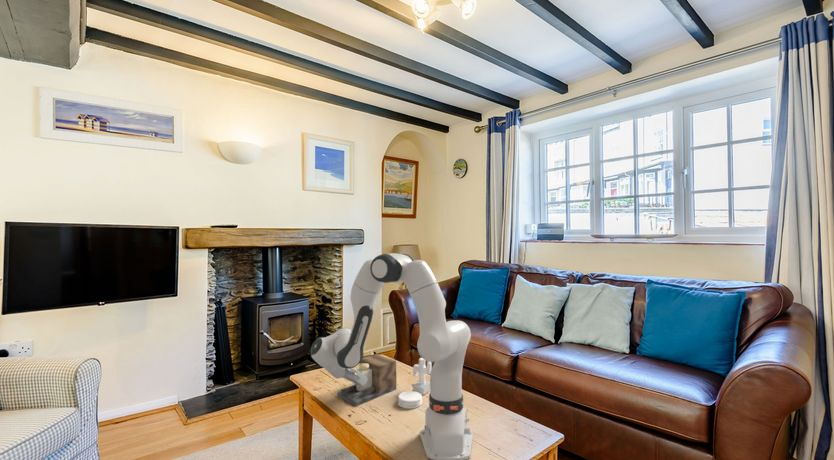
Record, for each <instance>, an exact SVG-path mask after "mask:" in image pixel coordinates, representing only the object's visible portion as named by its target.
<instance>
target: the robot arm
mask: <svg viewBox="0 0 834 460" xmlns="http://www.w3.org/2000/svg"><path fill="white" fill-rule="evenodd" d="M400 282H403V283H404V285H405V286H406V288H407V290H408V292H409V295H410V297H411V301H412V303H413V306H414V308H415V311H416V314H417V318H418V324H419V325H418V326H419V337H418V339H417V343H416V344H417V345H416V346H417V347H416V348H417V351H418V354H419V356H420V358H423V359H424V360H425V362H431V363H433V365H432V366H431V368H432V369H431V373H430V374H429V376H430V377H429V379H430V381H429V382H430V391H429V395H428V405H429V406H428V407H427V408H426V409H425V411H424V413H425V417H424V421H425V422H424V428H423V429H420V431H419V436H420V440H421V444H422V446H423V449H424V453H425V455H426V458H428V459H430V460H468V459H470V458H471V456H472V455H471V454H472V448H473V447H472V446H473V439H474V431H473V430H472V429H471V427H470V426H468V423H469V421H470V419H469V417H468V410H467V409H466V407H464V395H463V392H462V389H463V387H462V385H463V382H462V381H463V379H462V378H463V375H462V374H463V366H464V362H465V356H466V352H467V348H468V345H469V343H470V341H471V338H472V337H471V336H472V333H471V329H470V327H469V326H468V324H467V323H466V322H464V321H462V320H458V319H457V320H448V321H447V319H446V311H445V310H446V307H447V301H446V299H445V296H444V294H443V292H442V290H441V287H440V285H439V283H438V280H437V279H436V276H435V274H434V272H433V271H432V269H431V268H430V266H429V265H428V263H427V262H426V261H424V260H422V259H416V260H415V259H414V257H412V256H411V255H409V254H406V253H395V252H391V253H382V254H379V255H377V256H375V257H374V258H373V259H367V260H366V261H365V262H363V265H362V266H361V267H360V268H359V271H358V273H357V275H356V276H355V279H354V282H353V284H352V286H351V290H350V298H349V299H350V302H351V307H352V311H353V324H352V327H351V328H348V327H341V328H339V329H337V330H336V331H334V332H333V333H332V334H330V335H328V336H326V337H325V336H324V337H319V338H317V339H315V341H314V342H313V343H312V344H311V347H310V357H311V358H312V360H313V361H315V362H316V363H317V364H318V365H319V366H320V367H322V368H324V370H325V371H326V372H328V373H329V374H330V375H331V376H332V377H333V378H334V379H340V378H341V379H344V380H346V381H348V382H349V381H350V383H353V384H354V385H355V384H357V385H360V386H362V387H364V386H365V384H366V383H367V381H368V379H367V378H366V377H365V376H364V375H362V374H361V373H360V372H358V371H357V370H356V369H355V368H356V367H357V366H359V365H360V362H361V361H362V359H363V358H364V346H365V343H366V340H367V337H368V334H369V330H370V327H371V323H372V320H373V316H374V312H375V307H376V303H377V300H378V298H379V295H380V293H381V290H382V288H383V286H384V284H386V283H387V284H389V283H400Z"/></svg>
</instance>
